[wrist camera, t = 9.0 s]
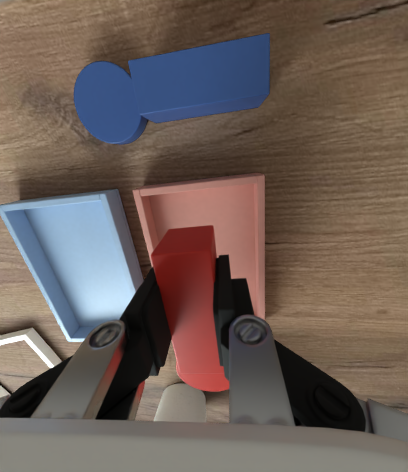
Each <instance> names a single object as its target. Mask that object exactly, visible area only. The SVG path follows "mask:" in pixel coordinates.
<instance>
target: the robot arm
mask: <svg viewBox="0 0 408 472" xmlns="http://www.w3.org/2000/svg"><path fill="white" fill-rule="evenodd" d="M213 317H214V324H215V332H216V340H217V347H218V355H219V363H220V366H223V367H224V375H225V378H226V379H227V380H228V381H229V423H201V422H169V421H134V420H135V417H136V414H137V410H138V407H139V403H140V400H141V396H142V393H143V389H144V384H145V380H146V379H147V378H148V377H149V376H158V374H159V370H160V367H163V366H164V365H165V361H166V357H167V354H168V350H169V346H170V342H171V338H172V337H171V333H170V329H169V325H168V321H167V317H166V313H165V309H164V305H163V301H162V297H161V292H160V288H159V286H158V284H157V280H156V276H155V272H154V268H153V267H152V268H151V270H150V272H149V273H148V275H147V277H146V278H145V280H144V281H143V283H142V284H141V285H140V286H139V288H138V290H137V291H136V293H135V294H134V296H133V298H132V299H131V301H130V303H129V304H128V306H127V307H126V309H125V311H124V312H123V314H122V315H121V317H120V319H119V320H115V319H114V320H109V321H106V322H103V323H102V324H100V325H98V326H97V327H95V328H94V329H93V330H92V331H91V332H90V333H89V334H88V335H87V337H86V338H85V340H84V341H83V342H82V344H81V345H80V347H79V348H78V350H77V351H76V353H75V354H74V355H73V356H71V357H69V358H68V359H66V360H64V361H62V362H61V363H59V364H57V365H56V366H54V367H52V368H51V369H49V370H47V371H46V372H44V373H42V374H41V375H39V376H37V377H36V378H34V379H32V380H31V381H29V382H27V383H26V384H24V385H23V386H21V387H20V388H19V389H18V390H16V391H15V392H14V393H13V394H12V395H11V396H10V395H6V396H3V397H1V398H0V472H408V414H407V413H404V412H402V411H399V410H397V409H394V408H391V407H389V406H386V405H384V404H381V403H379V402H376V401H373V400H371V399H367V402H365V401H363V400H360V399H358V398H356V397H355V396H354V395H353V394H352V393H351V392H350V390H348V389H347V388H346V387H345V386H343V385H342V384H341V383H340V382H338V381H336V380H335V379H333V378H332V377H330V376H329V375H327V374H326V373H324V372H323V371H321V370H320V369H318V368H317V367H315V366H314V365H312V364H311V363H309V362H308V361H306V360H305V359H303V358H302V357H300V356H299V355H297V354H295V353H294V352H292V351H291V350H289V349H288V348H286V347H285V346H283V345H282V344H280V343H279V342H277V341H276V340H274V338H273V334H272V330H271V328H270V326H269V324H268V323H267V322H266V321H265V320H263V319H262V318H260V317H258V316H255V315H254V310H253V306H252V301H251V297H250V292H249V288H248V283H247V279H246V278H236V279H231V271H230V261H229V254H228V255H219V258H216V269H215V282H214V290H213Z"/></svg>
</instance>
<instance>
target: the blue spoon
mask: <svg viewBox="0 0 408 472" xmlns="http://www.w3.org/2000/svg"><path fill="white" fill-rule="evenodd" d="M128 64H129V68H130V73H131V75H130V74H128V73H127V72H126V71H125V70H124V69H123V68H121V67H120V66H118V65H116V64H114V63H112V62H108V61H96V62H93V63H91V64H89V65H87V66H86V67H85V68H84V69H83V70H82V71H81V72H80V74H79V75H78V77H77V79H76V83H75V87H74V103H75V107H76V111H77V114H78V116H79V118H80V120H81V122H82V123H83V125H84V126H85V128H86V129H87V130H88V131H89V132H90V133H91V134H92V135H93V136H95V137H96V138H97V139H99V140H101V141H104V142H107V143H112V144H128V143H131V142H133V141H135V140H136V139H137V138H139V136H140V135H141V134H142V133H143V131H144V129H145V127H146V124H147V119H149V120H151V121H153V122H154V123H161V122H168V121H174V120H181V119H187V118H194V117H200V116H207V115H213V114H219V113H226V112H232V111H239V110H245V109H252V108H258V107H259V106H260V105H261V104H262V102H263V101H264V100H265V98H266V97H267V96H268V95H269V86H270V33H266V34H261V35H256V36H251V37H246V38H241V39H236V40H231V41H226V42H221V43H215V44H210V45H205V46H200V47H195V48H190V49H185V50H180V51H175V52H170V53H165V54H160V55H155V56H149V57H144V58H139V59H134V60H129V61H128Z"/></svg>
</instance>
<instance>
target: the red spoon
mask: <svg viewBox="0 0 408 472" xmlns="http://www.w3.org/2000/svg"><path fill="white" fill-rule="evenodd" d="M216 258H217V253H216V244H215V235H214V226H213V225H207V226H196V227H185V228H174V229H168V231H167V232H166V234H165V235H164V237H163V238H162V239H161V241H160V242H159V244H158V245H157V246H156V248H155V249H154V251H153V252H152V254H151V260H152V264H153V268H154V272H155V276H156V280H157V284H158V286H159V288H160V292H161V297H162V301H163V305H164V309H165V313H166V317H167V321H168V325H169V329H170V333H171V337H172V338H171V340H172V344H173V348H174V352H175V356H176V360H177V362H176V370H177V373H178V375H179V377H180V378H181V379H182V380H183V381H184V382H185V383H186V384H188V385H190V386H191V387H194V388H196V389H199V390H203V391H212V392H214V391H223V390H227V389H229V381H228V380H227V379H226V378H225V375H224V367H223V366H220V363H219V355H218V347H217V340H216V332H215V324H214V317H213V290H214V282H215V269H216Z"/></svg>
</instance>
